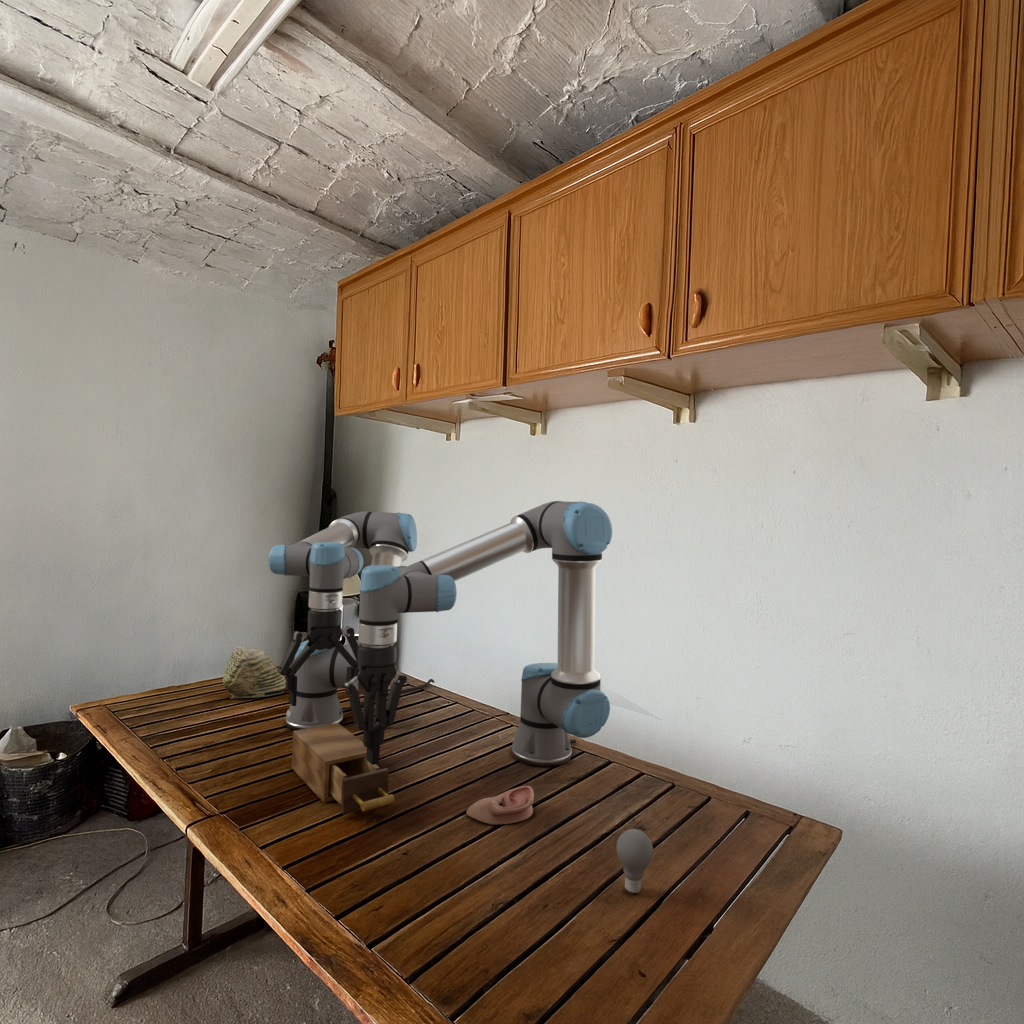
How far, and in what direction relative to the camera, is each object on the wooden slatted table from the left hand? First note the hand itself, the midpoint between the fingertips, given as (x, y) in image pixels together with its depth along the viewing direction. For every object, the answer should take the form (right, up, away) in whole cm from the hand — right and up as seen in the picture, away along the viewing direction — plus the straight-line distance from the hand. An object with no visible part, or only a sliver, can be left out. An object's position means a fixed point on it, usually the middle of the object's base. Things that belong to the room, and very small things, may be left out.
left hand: (321, 699), depth 148 cm
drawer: (+11, -16, -15) cm, 24 cm away
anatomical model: (+42, -18, -17) cm, 49 cm away
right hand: (+17, -6, -22) cm, 28 cm away
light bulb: (+64, -20, -42) cm, 79 cm away
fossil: (-36, -14, +51) cm, 64 cm away
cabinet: (+4, -16, -5) cm, 17 cm away
